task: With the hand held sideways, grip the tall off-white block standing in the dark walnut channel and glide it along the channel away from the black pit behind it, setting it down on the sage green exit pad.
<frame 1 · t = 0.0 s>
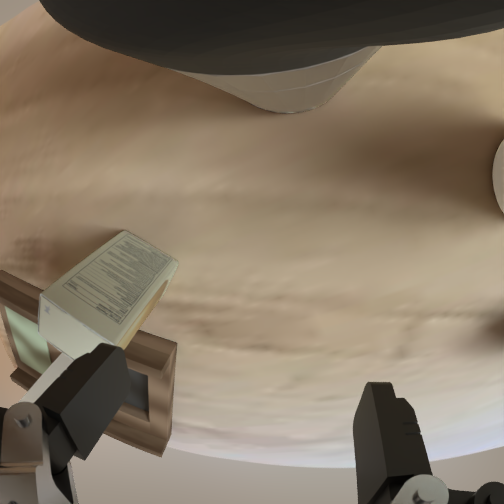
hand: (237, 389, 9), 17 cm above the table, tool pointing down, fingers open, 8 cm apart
skincare box: (146, 262, 29), on the table
channel: (85, 361, 36), on the table
block: (78, 370, 34), point 2 cm above the table, touching channel
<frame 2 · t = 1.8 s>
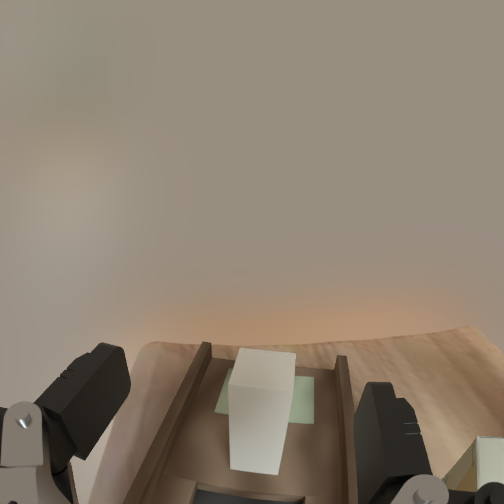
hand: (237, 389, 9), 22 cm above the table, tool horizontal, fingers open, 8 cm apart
channel: (256, 464, 27), on the table
block: (257, 454, 26), point 2 cm above the table, touching channel
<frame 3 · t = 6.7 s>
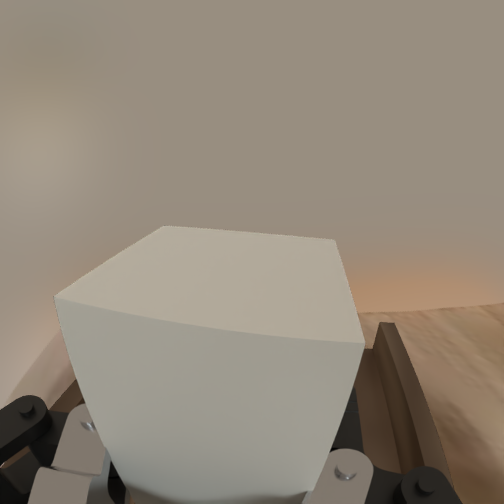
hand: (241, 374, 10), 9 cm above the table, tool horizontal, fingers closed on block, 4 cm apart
when the fingers open (10 cm above the table, at t = 10.8 s): block stays where it is, resting on channel.
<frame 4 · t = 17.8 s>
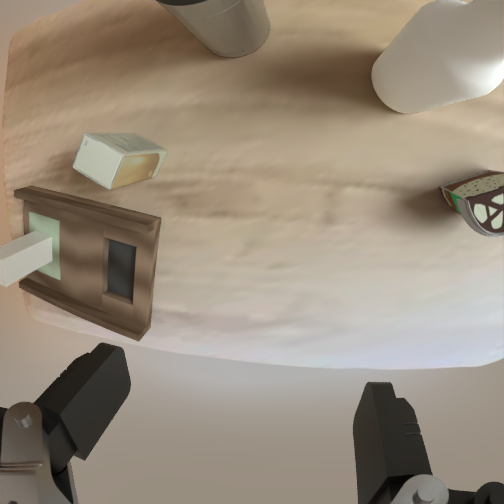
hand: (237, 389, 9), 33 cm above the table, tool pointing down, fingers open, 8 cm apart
food container: (469, 198, 36), on the table
skincare box: (146, 155, 41), on the table
channel: (87, 255, 48), on the table
block: (43, 245, 46), point 2 cm above the table, touching channel
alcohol: (401, 83, 33), on the table
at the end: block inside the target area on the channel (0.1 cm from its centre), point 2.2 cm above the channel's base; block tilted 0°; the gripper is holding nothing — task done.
